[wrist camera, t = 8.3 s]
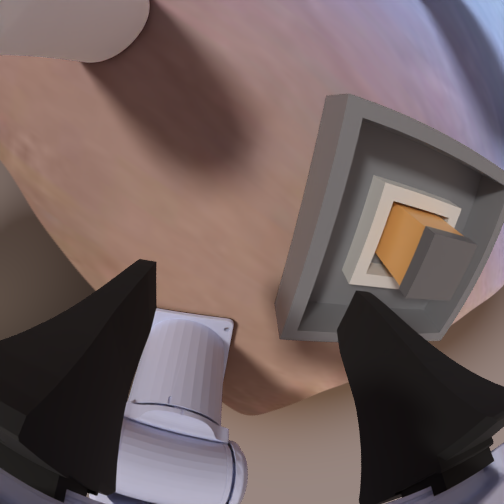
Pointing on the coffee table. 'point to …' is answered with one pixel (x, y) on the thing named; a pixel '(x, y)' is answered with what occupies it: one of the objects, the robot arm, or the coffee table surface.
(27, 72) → the coffee table surface
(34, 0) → the can
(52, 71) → the coffee table surface
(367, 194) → the box
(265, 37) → the coffee table surface
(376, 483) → the robot arm
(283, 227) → the coffee table surface
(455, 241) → the plug
